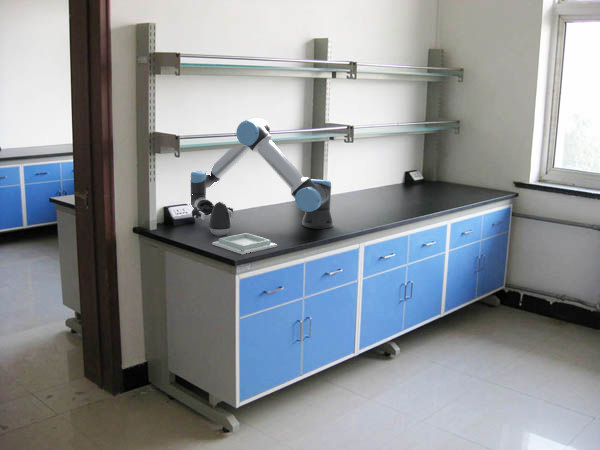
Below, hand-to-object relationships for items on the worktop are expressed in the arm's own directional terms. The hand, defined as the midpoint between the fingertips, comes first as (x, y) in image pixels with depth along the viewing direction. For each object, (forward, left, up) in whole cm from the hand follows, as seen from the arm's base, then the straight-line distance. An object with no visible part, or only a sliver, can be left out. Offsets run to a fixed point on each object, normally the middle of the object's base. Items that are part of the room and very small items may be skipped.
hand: (218, 216), depth 305 cm
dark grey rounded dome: (-1, +1, -9) cm, 9 cm away
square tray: (-12, +20, -8) cm, 25 cm away
